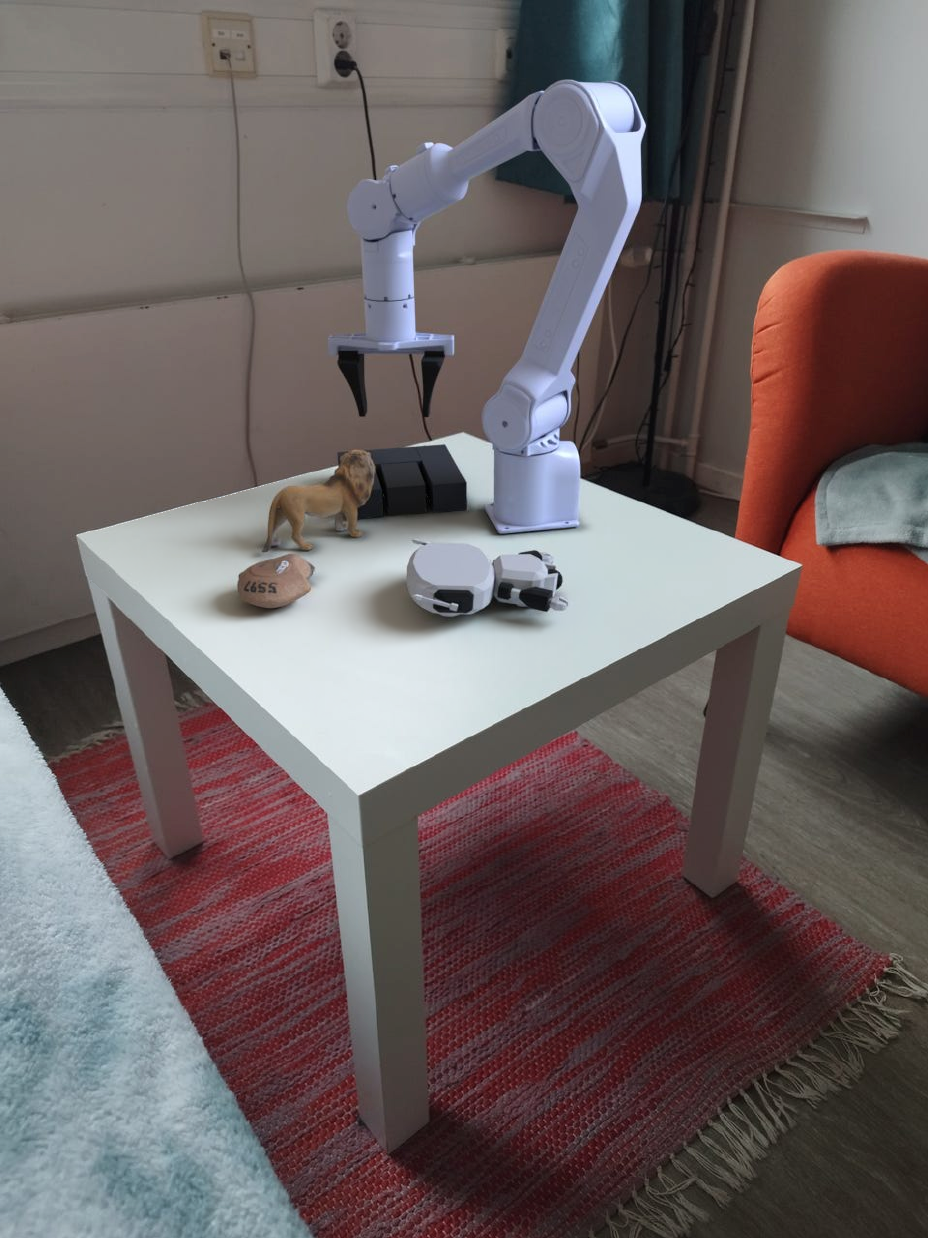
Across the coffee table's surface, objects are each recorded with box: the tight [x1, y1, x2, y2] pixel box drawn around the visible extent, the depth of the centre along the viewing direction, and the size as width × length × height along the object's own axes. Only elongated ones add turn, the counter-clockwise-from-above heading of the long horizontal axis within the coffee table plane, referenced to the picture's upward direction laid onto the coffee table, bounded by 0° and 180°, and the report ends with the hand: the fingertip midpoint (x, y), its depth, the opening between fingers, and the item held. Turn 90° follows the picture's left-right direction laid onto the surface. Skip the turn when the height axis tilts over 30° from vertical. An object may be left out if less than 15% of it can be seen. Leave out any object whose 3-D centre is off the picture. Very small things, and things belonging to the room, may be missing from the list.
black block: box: [380, 462, 427, 516], centre depth 109 cm, size 4×8×4 cm, turn 10°
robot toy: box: [405, 538, 570, 618], centre depth 86 cm, size 12×4×15 cm
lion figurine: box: [261, 448, 376, 554], centre depth 98 cm, size 15×5×9 cm, turn 130°
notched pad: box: [337, 443, 468, 520], centre depth 111 cm, size 14×14×4 cm
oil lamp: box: [236, 553, 316, 609], centre depth 88 cm, size 9×4×8 cm
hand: (394, 414), depth 109 cm, fingers open, 7 cm apart
